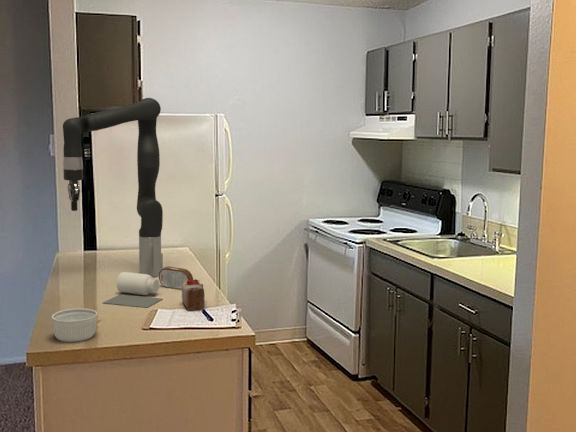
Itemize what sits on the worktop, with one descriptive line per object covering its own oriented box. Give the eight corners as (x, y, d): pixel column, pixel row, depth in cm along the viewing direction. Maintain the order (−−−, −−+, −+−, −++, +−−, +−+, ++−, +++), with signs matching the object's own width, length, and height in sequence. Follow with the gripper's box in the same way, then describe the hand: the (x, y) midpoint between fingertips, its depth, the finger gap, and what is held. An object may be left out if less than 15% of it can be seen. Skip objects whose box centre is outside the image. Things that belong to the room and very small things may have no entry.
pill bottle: (122, 295, 245) (156, 299, 241) (113, 286, 239) (148, 290, 234) (129, 277, 249) (163, 281, 245) (120, 268, 243) (155, 271, 238)
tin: (193, 289, 250) (193, 269, 249) (189, 291, 247) (189, 270, 246) (162, 285, 256) (162, 265, 255) (157, 287, 254) (157, 266, 252)
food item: (179, 301, 233) (179, 275, 232) (201, 300, 235) (201, 274, 234) (185, 312, 220) (185, 284, 219) (208, 310, 223) (208, 283, 221)
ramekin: (71, 346, 184) (71, 323, 183) (42, 338, 190) (41, 315, 190) (107, 334, 195) (106, 312, 194) (78, 327, 202) (77, 305, 201)
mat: (102, 303, 228) (102, 302, 228) (119, 295, 240) (119, 294, 240) (147, 308, 224) (147, 307, 224) (162, 299, 235) (162, 298, 235)
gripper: (60, 167, 260) (61, 209, 263) (66, 169, 249) (67, 213, 251) (79, 167, 264) (80, 208, 266) (86, 169, 253) (87, 212, 255)
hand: (74, 210), depth 259 cm, fingers closed
